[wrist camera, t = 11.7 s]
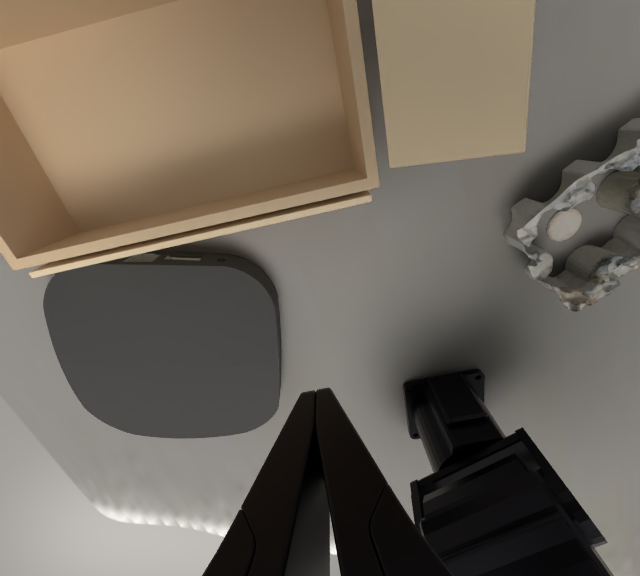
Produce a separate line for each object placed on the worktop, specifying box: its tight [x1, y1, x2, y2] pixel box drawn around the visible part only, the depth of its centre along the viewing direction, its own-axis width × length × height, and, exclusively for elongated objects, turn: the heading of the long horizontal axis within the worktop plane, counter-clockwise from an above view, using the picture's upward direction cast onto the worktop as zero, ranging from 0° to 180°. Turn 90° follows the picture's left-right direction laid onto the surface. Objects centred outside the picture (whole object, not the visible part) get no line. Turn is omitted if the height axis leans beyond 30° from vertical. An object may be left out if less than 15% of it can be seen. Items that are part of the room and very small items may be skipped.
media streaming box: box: [43, 252, 281, 438], centre depth 22 cm, size 15×15×3 cm
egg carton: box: [504, 118, 640, 312], centre depth 18 cm, size 11×8×4 cm
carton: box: [0, 0, 380, 278], centre depth 15 cm, size 11×18×5 cm, turn 102°
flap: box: [372, 0, 536, 168], centre depth 10 cm, size 8×1×5 cm
